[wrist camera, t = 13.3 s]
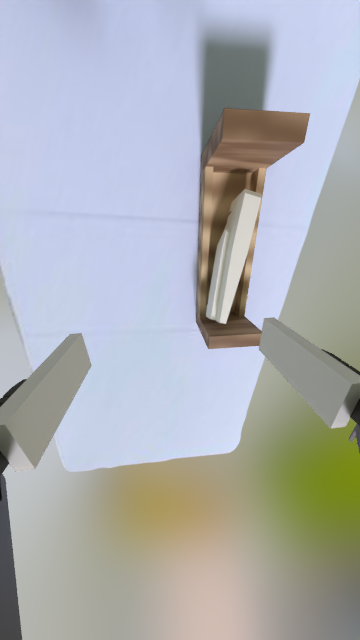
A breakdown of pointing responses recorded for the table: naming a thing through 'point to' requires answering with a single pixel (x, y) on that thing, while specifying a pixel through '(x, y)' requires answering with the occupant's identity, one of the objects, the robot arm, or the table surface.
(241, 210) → the shelf bracket
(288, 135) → the cradle
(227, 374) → the table surface
